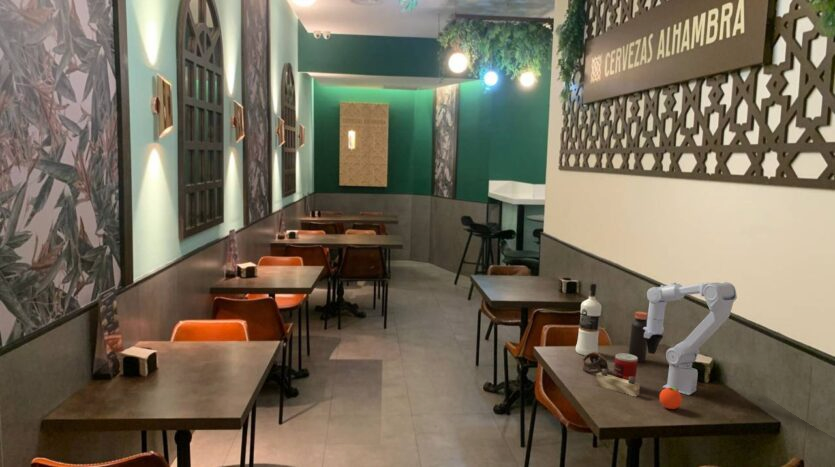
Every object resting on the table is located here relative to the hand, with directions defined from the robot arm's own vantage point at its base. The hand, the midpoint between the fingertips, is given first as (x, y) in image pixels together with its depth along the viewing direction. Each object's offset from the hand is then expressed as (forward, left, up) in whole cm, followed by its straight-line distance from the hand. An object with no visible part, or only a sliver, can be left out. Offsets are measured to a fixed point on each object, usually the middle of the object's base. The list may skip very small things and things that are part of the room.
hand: (651, 353), depth 237 cm
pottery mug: (+17, +10, -10) cm, 22 cm away
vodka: (+30, -8, -10) cm, 32 cm away
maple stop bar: (+2, +24, -9) cm, 26 cm away
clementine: (-17, +25, -10) cm, 32 cm away
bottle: (+12, -17, -10) cm, 23 cm away
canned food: (+2, +17, -10) cm, 20 cm away
